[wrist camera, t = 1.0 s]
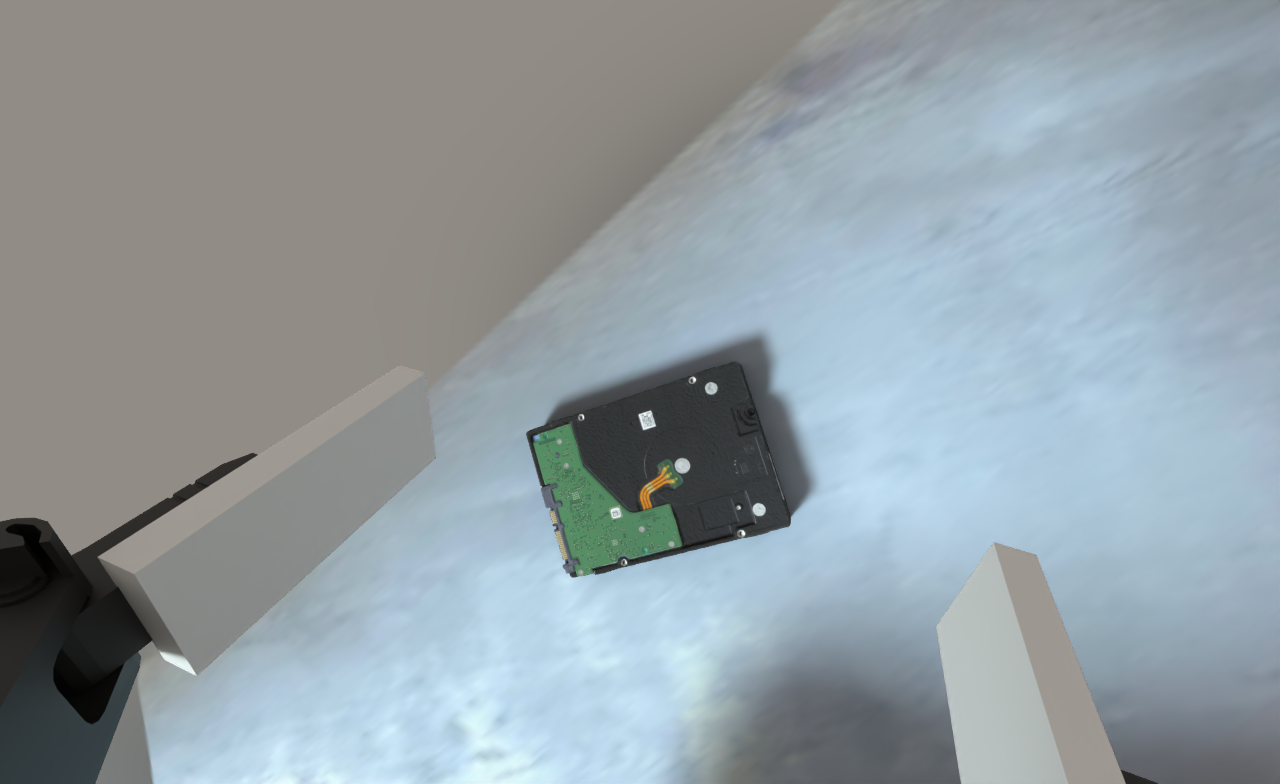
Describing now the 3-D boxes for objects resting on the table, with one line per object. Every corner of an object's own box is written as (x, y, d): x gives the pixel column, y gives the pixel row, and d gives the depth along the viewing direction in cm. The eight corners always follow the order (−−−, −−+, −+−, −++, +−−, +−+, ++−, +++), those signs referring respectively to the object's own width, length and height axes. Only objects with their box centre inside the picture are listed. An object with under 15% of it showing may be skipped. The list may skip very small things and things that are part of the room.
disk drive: (740, 360, 34) (540, 430, 38) (736, 356, 32) (521, 432, 35) (794, 516, 33) (582, 573, 37) (794, 526, 30) (566, 586, 34)
